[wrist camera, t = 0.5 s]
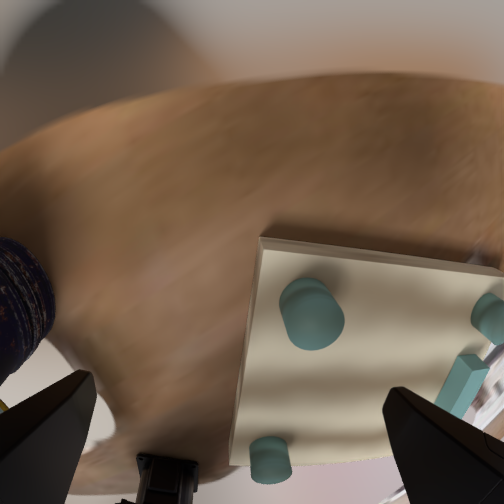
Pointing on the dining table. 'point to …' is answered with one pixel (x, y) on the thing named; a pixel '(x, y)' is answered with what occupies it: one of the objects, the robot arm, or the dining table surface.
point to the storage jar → (22, 305)
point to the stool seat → (348, 348)
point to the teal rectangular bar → (462, 384)
